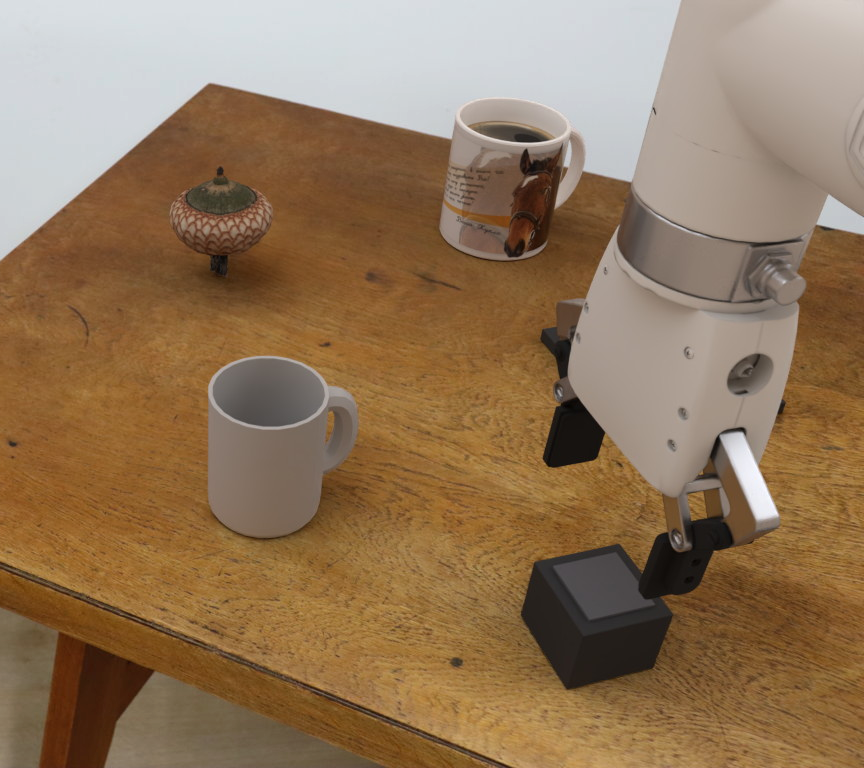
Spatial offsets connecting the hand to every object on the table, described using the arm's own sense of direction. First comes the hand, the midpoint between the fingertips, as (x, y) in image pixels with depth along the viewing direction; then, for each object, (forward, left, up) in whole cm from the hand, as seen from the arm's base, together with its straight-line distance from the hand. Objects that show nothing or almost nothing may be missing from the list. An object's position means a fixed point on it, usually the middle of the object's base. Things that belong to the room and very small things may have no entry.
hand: (615, 521), depth 58 cm
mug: (+44, -17, -9) cm, 48 cm away
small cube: (0, 0, -9) cm, 9 cm away
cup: (+16, +13, -9) cm, 22 cm away
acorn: (+43, +10, -9) cm, 45 cm away
